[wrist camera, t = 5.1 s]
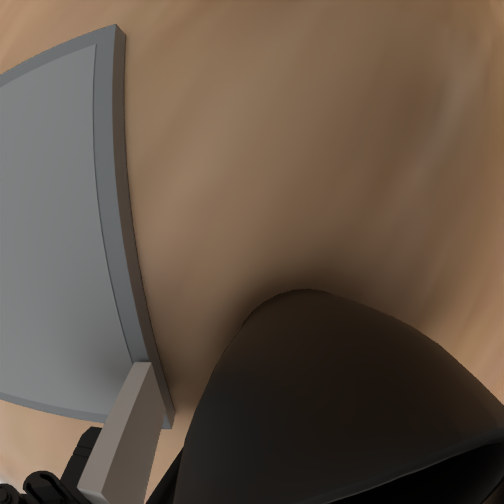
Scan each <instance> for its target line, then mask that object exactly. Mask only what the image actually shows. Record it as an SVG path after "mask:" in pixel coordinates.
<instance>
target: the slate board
mask: <svg viewBox="0 0 504 504" xmlns="http://www.w3.org/2000/svg"><path fill="white" fill-rule="evenodd" d="M125 39H126V35H125V34H124V33H123V32H122V30H121V29H120V28H119V27H118V26H117V24H114V25H110V26H107V27H104V28H101V29H98V30H95V31H92V32H90V33H87V34H84V35H82V36H79V37H76V38H74V39H71V40H69V41H67V42H64V43H62V44H59V45H57V46H55V47H53V48H51V49H48V50H46V51H44V52H42V53H40V54H38V55H36V56H34V57H32V58H30V59H28V60H26V61H24V62H22V63H21V64H19V65H17V66H15V67H13V68H12V69H10V70H8V71H6V72H5V73H3V74H1V75H0V399H1V400H4V401H7V402H11V403H14V404H17V405H21V406H24V407H28V408H31V409H35V410H39V411H43V412H47V413H51V414H56V415H60V416H65V417H70V418H75V419H80V420H86V421H92V422H99V423H105V421H106V419H107V417H108V415H109V413H110V411H111V409H112V407H113V405H114V402H115V400H116V398H117V396H118V394H119V392H120V390H121V388H122V386H123V384H124V382H125V380H126V378H127V376H128V374H129V372H130V370H131V368H132V366H133V364H134V362H151V363H152V366H153V370H154V373H155V377H156V380H157V383H158V387H159V390H160V393H161V396H162V399H163V402H164V405H165V408H166V412H165V416H164V420H163V423H162V427H161V429H172V426H173V422H174V418H175V414H176V413H175V410H174V407H173V404H172V401H171V398H170V394H169V391H168V388H167V384H166V381H165V378H164V374H163V370H162V367H161V363H160V359H159V356H158V352H157V348H156V344H155V340H154V336H153V332H152V327H151V323H150V319H149V314H148V310H147V305H146V300H145V295H144V290H143V285H142V280H141V274H140V269H139V263H138V257H137V251H136V244H135V237H134V230H133V223H132V215H131V207H130V198H129V188H128V177H127V165H126V150H125V130H124V57H125Z"/></svg>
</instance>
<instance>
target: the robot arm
mask: <svg viewBox="0 0 504 504" xmlns="http://www.w3.org/2000/svg"><path fill="white" fill-rule="evenodd" d="M165 412H166V408H165V405H164V402H163V399H162V396H161V393H160V390H159V387H158V383H157V380H156V377H155V373H154V370H153V366H152V363H151V362H134V364H133V366H132V368H131V370H130V372H129V374H128V376H127V378H126V380H125V382H124V384H123V386H122V388H121V390H120V392H119V394H118V396H117V398H116V400H115V402H114V405H113V407H112V409H111V411H110V413H109V415H108V417H107V419H106V421H105V424H104V426H103V428H99V427H92V426H91V427H90V428H89V429H88V430H87V431H86V432H85V433H84V434H82V436H81V438H80V440H79V442H78V444H77V447H76V448H75V450H74V452H73V455H72V456H71V458H70V460H69V462H68V464H67V466H66V468H65V470H64V473H63V475H62V477H61V479H60V480H59V479H58V478H57V477H56V476H55V475H54V474H53V473H51V472H48V471H37V472H33V473H32V474H30V475H29V476H28V477H27V478H26V480H25V481H24V484H23V490H24V491H25V492H26V493H27V494H20V493H19V492H18V491H17V490H16V489H15V488H14V487H13V486H12V485H9V484H0V504H143V503H144V499H145V494H146V490H147V485H148V481H149V477H150V472H151V468H152V464H153V460H154V455H155V451H156V447H157V443H158V439H159V435H160V431H161V427H162V423H163V420H164V416H165ZM483 504H504V481H503V482H502V483H501V485H500V486H499V487H498V488H497V489H496V490H495V491H494V492H493V494H492V495H491V496H490V497H489V498H488V499H487V500H486V501H485V502H484V503H483Z"/></svg>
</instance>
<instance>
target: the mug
mask: <svg viewBox="0 0 504 504" xmlns="http://www.w3.org/2000/svg"><path fill="white" fill-rule="evenodd" d="M503 481H504V405H503V404H502V403H501V402H500V401H499V400H498V399H497V398H496V397H495V396H494V395H493V394H492V393H491V392H490V391H489V390H488V389H487V388H486V387H485V386H484V385H483V384H482V383H481V382H480V381H479V380H478V379H477V378H476V377H475V376H473V375H472V374H471V373H470V372H469V371H468V370H467V369H466V368H465V367H464V366H463V365H462V364H460V363H459V362H458V361H457V360H456V359H455V358H454V357H453V356H452V355H450V354H449V353H448V352H447V351H446V350H445V349H444V348H442V347H441V346H440V345H439V344H438V343H436V342H435V341H433V340H432V339H430V338H429V337H427V336H425V335H424V334H422V333H421V332H419V331H418V330H416V329H415V328H413V327H411V326H409V325H408V324H406V323H404V322H402V321H400V320H398V319H396V318H394V317H392V316H390V315H387V314H385V313H383V312H380V311H378V310H375V309H373V308H370V307H368V306H365V305H363V304H360V303H357V302H355V301H352V300H348V299H345V298H342V297H337V296H334V295H332V294H329V293H326V292H324V291H318V290H311V289H306V290H293V291H290V292H286V293H283V294H279V295H277V296H275V297H273V298H271V299H269V300H267V301H265V302H264V303H263V304H261V305H260V306H259V307H258V308H256V309H255V310H254V311H253V312H252V313H251V314H250V316H249V317H248V318H247V319H246V321H245V322H244V323H243V325H242V328H241V329H240V331H239V332H238V334H237V335H236V336H235V338H234V339H233V340H232V341H231V343H230V344H229V346H228V347H227V349H226V350H225V352H224V353H223V355H222V357H221V358H220V360H219V362H218V364H217V365H216V367H215V369H214V371H213V373H212V375H211V378H210V380H209V382H208V384H207V386H206V388H205V391H204V393H203V395H202V397H201V399H200V401H199V404H198V406H197V408H196V410H195V413H194V416H193V419H192V421H191V424H190V427H189V430H188V433H187V435H186V438H185V442H184V447H183V448H182V450H181V451H180V453H179V454H178V455H177V457H176V458H175V460H174V461H173V463H172V464H171V466H170V467H169V469H168V470H167V472H166V473H165V475H164V476H163V478H162V479H161V481H160V482H159V484H158V485H157V487H156V488H155V490H154V491H153V493H152V494H151V496H150V497H149V499H148V501H147V502H146V504H483V503H484V502H485V501H486V500H487V499H488V498H489V497H490V496H491V495H492V494H493V492H494V491H495V490H496V489H497V488H498V487H499V486H500V485H501V483H502V482H503Z"/></svg>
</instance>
